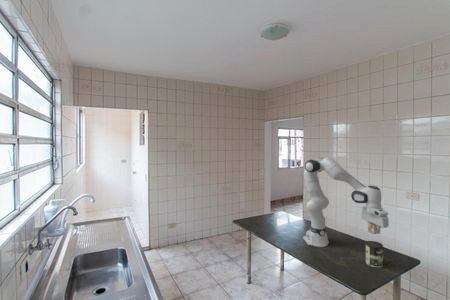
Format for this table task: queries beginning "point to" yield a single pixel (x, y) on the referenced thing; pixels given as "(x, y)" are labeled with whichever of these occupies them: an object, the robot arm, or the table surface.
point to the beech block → (372, 228)
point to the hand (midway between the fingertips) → (374, 229)
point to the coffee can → (374, 254)
